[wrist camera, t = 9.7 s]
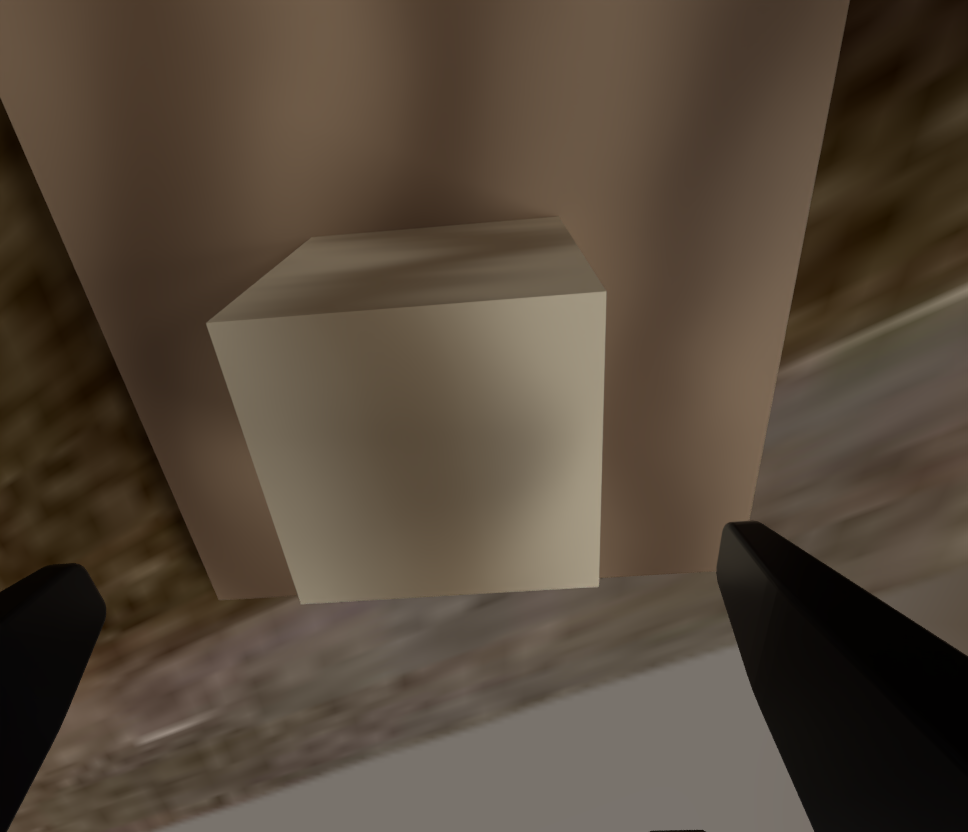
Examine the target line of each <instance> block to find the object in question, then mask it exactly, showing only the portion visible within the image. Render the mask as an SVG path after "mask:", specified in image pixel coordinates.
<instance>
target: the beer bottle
mask: <svg viewBox="0 0 968 832" xmlns="http://www.w3.org/2000/svg"><path fill="white" fill-rule="evenodd" d="M650 832H705V831H704V830H670V831H650Z"/></svg>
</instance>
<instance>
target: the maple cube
mask: <svg viewBox="0 0 968 832" xmlns="http://www.w3.org/2000/svg"><path fill="white" fill-rule="evenodd" d="M206 325H207V328H208V331H209V334H210V337H211V340H212V343H213V346H214V349H215V352H216V355H217V358H218V361H219V363H220V366H221V369H222V372H223V375H224V378H225V381H226V384H227V387H228V390H229V393H230V396H231V399H232V402H233V405H234V408H235V411H236V414H237V417H238V420H239V422H240V425H241V428H242V431H243V434H244V437H245V440H246V443H247V446H248V449H249V452H250V455H251V458H252V461H253V464H254V467H255V470H256V473H257V476H258V479H259V482H260V484H261V487H262V490H263V493H264V496H265V499H266V502H267V505H268V508H269V511H270V514H271V517H272V520H273V523H274V526H275V529H276V532H277V535H278V538H279V541H280V543H281V546H282V549H283V552H284V555H285V558H286V561H287V564H288V567H289V570H290V573H291V576H292V579H293V582H294V585H295V588H296V591H297V594H298V597H299V600H300V602H301V604H315V603H331V602H348V601H365V600H382V599H399V598H416V597H433V596H450V595H467V594H484V593H501V592H518V591H535V590H551V589H568V588H585V587H599V561H600V523H601V484H602V445H603V407H604V368H605V329H606V290H605V288H604V287H603V285H602V284H601V282H600V280H599V279H598V277H597V276H596V274H595V273H594V271H593V269H592V268H591V266H590V265H589V263H588V262H587V260H586V258H585V257H584V255H583V254H582V252H581V251H580V249H579V247H578V246H577V244H576V243H575V241H574V240H573V238H572V236H571V235H570V233H569V232H568V230H567V229H566V227H565V225H564V224H563V222H562V221H561V219H560V218H559V216H558V217H546V218H534V219H522V220H511V221H499V222H487V223H475V224H463V225H451V226H440V227H428V228H416V229H404V230H392V231H380V232H369V233H357V234H345V235H333V236H321V237H311V238H310V239H309V240H308V241H306V242H305V243H304V244H303V245H301V246H300V247H299V248H298V249H296V250H295V251H294V252H293V253H291V254H290V255H289V256H288V257H287V258H285V259H284V260H283V261H282V262H280V263H279V264H278V265H277V266H275V267H274V268H273V269H272V270H271V271H269V272H268V273H267V274H266V275H264V276H263V277H262V278H261V279H259V280H258V281H257V282H256V283H255V284H253V285H252V286H251V287H250V288H248V289H247V290H246V291H245V292H243V293H242V294H241V295H240V296H239V297H237V298H236V299H235V300H234V301H232V302H231V303H230V304H229V305H227V306H226V307H225V308H224V309H222V310H221V311H220V312H219V313H218V314H216V315H215V316H214V317H213V318H211V319H210V320H209V321H208V322H206Z"/></svg>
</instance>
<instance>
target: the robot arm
mask: <svg viewBox="0 0 968 832" xmlns="http://www.w3.org/2000/svg"><path fill="white" fill-rule="evenodd" d="M716 574H717V580H718V585H719V588H720V591H721V594H722V597H723V600H724V604H725V607H726V610H727V613H728V616H729V619H730V622H731V626H732V629H733V632H734V635H735V638H736V641H737V644H738V648H739V651H740V653H741V657H742V660H743V663H744V666H745V670H746V672H747V676H748V678H749V681H750V684H751V687H752V690H753V693H754V695H755V697H756V700H757V702H758V705H759V707H760V710H761V712H762V714H763V716H764V718H765V721H766V723H767V725H768V728H769V730H770V732H771V734H772V736H773V739H774V741H775V743H776V745H777V748H778V750H779V753H780V754H781V757H782V759H783V762H784V764H785V766H786V768H787V771H788V773H789V775H790V777H791V779H792V782H793V784H794V787H795V789H796V791H797V793H798V796H799V798H800V800H801V802H802V805H803V807H804V809H805V811H806V814H807V816H808V818H809V820H810V823H811V825H812V827H813V830H814V832H968V656H967V655H965V654H963V653H962V652H961V651H959V650H957V649H956V648H954V647H953V646H951V645H950V644H948V643H947V642H945V641H943V640H942V639H940V638H939V637H937V636H936V635H934V634H933V633H931V632H930V631H928V630H926V629H925V628H923V627H922V626H920V625H918V624H917V623H915V622H914V621H912V620H911V619H909V618H908V617H906V616H905V615H903V614H902V613H900V612H899V611H897V610H895V609H894V608H892V607H891V606H889V605H888V604H886V603H885V602H883V601H881V600H880V599H878V598H877V597H875V596H874V595H872V594H871V593H869V592H867V591H866V590H864V589H863V588H861V587H860V586H858V585H857V584H855V583H854V582H852V581H850V580H849V579H847V578H846V577H844V576H843V575H841V574H840V573H838V572H836V571H835V570H833V569H832V568H830V567H829V566H827V565H826V564H824V563H823V562H821V561H819V560H818V559H816V558H815V557H813V556H812V555H810V554H809V553H807V552H805V551H804V550H802V549H801V548H799V547H798V546H796V545H795V544H793V543H792V542H790V541H788V540H787V539H785V538H784V537H782V536H781V535H779V534H778V533H776V532H774V531H773V530H771V529H770V528H768V527H767V526H765V525H764V524H762V523H760V522H758V521H752V520H751V521H735V522H729V523H727V524H725V526H724V528H723V531H722V536H721V542H720V548H719V554H718V560H717V566H716ZM105 618H106V605H105V602H104V600H103V598H102V596H101V595H100V593H99V591H98V589H97V588H96V586H95V584H94V582H93V581H92V579H91V577H90V575H89V574H88V572H87V570H86V569H85V568H84V567H83V566H81V565H80V564H76V563H69V564H53V565H48V566H45V567H43V568H41V569H39V570H38V571H36V572H34V573H32V574H31V575H29V576H27V577H25V578H24V579H22V580H20V581H18V582H17V583H15V584H13V585H12V586H10V587H8V588H6V589H5V590H3V591H1V592H0V832H7V831H8V829H9V827H10V825H11V823H12V821H13V819H14V817H15V815H16V813H17V811H18V809H19V807H20V806H21V804H22V802H23V800H24V798H25V796H26V794H27V792H28V790H29V788H30V786H31V784H32V782H33V780H34V779H35V777H36V775H37V773H38V771H39V769H40V767H41V765H42V763H43V761H44V759H45V757H46V755H47V754H48V752H49V750H50V748H51V746H52V744H53V742H54V740H55V738H56V736H57V734H58V732H59V730H60V728H61V725H62V723H63V721H64V718H65V716H66V714H67V712H68V709H69V707H70V704H71V702H72V700H73V697H74V695H75V692H76V690H77V687H78V685H79V683H80V680H81V678H82V675H83V673H84V670H85V668H86V665H87V663H88V661H89V658H90V656H91V653H92V651H93V648H94V646H95V644H96V641H97V639H98V636H99V634H100V631H101V629H102V627H103V624H104V621H105Z"/></svg>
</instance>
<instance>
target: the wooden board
mask: <svg viewBox="0 0 968 832" xmlns="http://www.w3.org/2000/svg"><path fill="white" fill-rule="evenodd" d="M849 2H850V0H0V98H1V100H2V102H3V105H4V107H5V109H6V112H7V114H8V116H9V119H10V121H11V123H12V125H13V128H14V130H15V132H16V135H17V137H18V139H19V142H20V144H21V146H22V148H23V151H24V153H25V155H26V158H27V160H28V162H29V165H30V167H31V169H32V171H33V174H34V176H35V178H36V181H37V183H38V185H39V188H40V190H41V192H42V194H43V197H44V199H45V201H46V204H47V206H48V208H49V211H50V213H51V215H52V217H53V220H54V222H55V224H56V227H57V229H58V231H59V234H60V236H61V238H62V240H63V243H64V245H65V247H66V250H67V252H68V254H69V257H70V259H71V261H72V263H73V266H74V268H75V270H76V273H77V275H78V277H79V279H80V282H81V284H82V286H83V289H84V291H85V293H86V296H87V298H88V300H89V302H90V305H91V307H92V309H93V312H94V314H95V316H96V319H97V321H98V323H99V325H100V328H101V330H102V332H103V335H104V337H105V339H106V342H107V344H108V346H109V348H110V351H111V353H112V355H113V358H114V360H115V362H116V365H117V367H118V369H119V371H120V374H121V376H122V378H123V381H124V383H125V385H126V388H127V390H128V392H129V394H130V397H131V399H132V401H133V404H134V406H135V408H136V411H137V413H138V415H139V417H140V420H141V422H142V424H143V427H144V429H145V431H146V434H147V436H148V438H149V440H150V443H151V445H152V447H153V450H154V452H155V454H156V457H157V459H158V461H159V463H160V466H161V468H162V470H163V473H164V475H165V477H166V479H167V482H168V484H169V486H170V489H171V491H172V493H173V496H174V498H175V500H176V502H177V505H178V507H179V509H180V512H181V514H182V516H183V519H184V521H185V523H186V525H187V528H188V530H189V532H190V535H191V537H192V539H193V542H194V544H195V546H196V548H197V551H198V553H199V555H200V558H201V560H202V562H203V565H204V567H205V569H206V571H207V574H208V576H209V578H210V581H211V583H212V585H213V588H214V590H215V592H216V594H217V597H218V599H219V600H232V599H249V598H266V597H283V596H298V594H297V591H296V588H295V585H294V582H293V579H292V576H291V573H290V570H289V567H288V564H287V561H286V558H285V555H284V552H283V549H282V546H281V543H280V541H279V538H278V535H277V532H276V529H275V526H274V523H273V520H272V517H271V514H270V511H269V508H268V505H267V502H266V499H265V496H264V493H263V490H262V487H261V484H260V482H259V479H258V476H257V473H256V470H255V467H254V464H253V461H252V458H251V455H250V452H249V449H248V446H247V443H246V440H245V437H244V434H243V431H242V428H241V425H240V422H239V420H238V417H237V414H236V411H235V408H234V405H233V402H232V399H231V396H230V393H229V390H228V387H227V384H226V381H225V378H224V375H223V372H222V369H221V366H220V363H219V361H218V358H217V355H216V352H215V349H214V346H213V343H212V340H211V337H210V334H209V331H208V328H207V325H206V322H208V321H209V320H210V319H211V318H213V317H214V316H215V315H216V314H218V313H219V312H220V311H221V310H222V309H224V308H225V307H226V306H227V305H229V304H230V303H231V302H232V301H234V300H235V299H236V298H237V297H239V296H240V295H241V294H242V293H243V292H245V291H246V290H247V289H248V288H250V287H251V286H252V285H253V284H255V283H256V282H257V281H258V280H259V279H261V278H262V277H263V276H264V275H266V274H267V273H268V272H269V271H271V270H272V269H273V268H274V267H275V266H277V265H278V264H279V263H280V262H282V261H283V260H284V259H285V258H287V257H288V256H289V255H290V254H291V253H293V252H294V251H295V250H296V249H298V248H299V247H300V246H301V245H303V244H304V243H305V242H306V241H308V240H309V239H310V238H311V237H321V236H333V235H345V234H357V233H369V232H380V231H392V230H404V229H416V228H428V227H440V226H451V225H463V224H475V223H487V222H499V221H511V220H522V219H534V218H546V217H558V216H559V218H560V219H561V221H562V222H563V224H564V225H565V227H566V229H567V230H568V232H569V233H570V235H571V236H572V238H573V240H574V241H575V243H576V244H577V246H578V247H579V249H580V251H581V252H582V254H583V255H584V257H585V258H586V260H587V262H588V263H589V265H590V266H591V268H592V269H593V271H594V273H595V274H596V276H597V277H598V279H599V280H600V282H601V284H602V285H603V287H604V288H605V290H606V329H605V368H604V407H603V445H602V484H601V523H600V561H599V578H608V577H626V576H643V575H660V574H677V573H694V572H711V571H716V566H717V560H718V554H719V548H720V542H721V536H722V531H723V528H724V526H725V524H727V523H729V522H735V521H749V519H750V514H751V509H752V504H753V498H754V493H755V488H756V483H757V478H758V473H759V467H760V462H761V457H762V452H763V447H764V441H765V436H766V431H767V426H768V421H769V416H770V410H771V405H772V400H773V395H774V390H775V385H776V379H777V374H778V369H779V364H780V359H781V354H782V348H783V343H784V338H785V333H786V328H787V323H788V317H789V312H790V307H791V302H792V297H793V292H794V286H795V281H796V276H797V271H798V266H799V261H800V255H801V250H802V245H803V240H804V235H805V230H806V224H807V219H808V214H809V209H810V204H811V199H812V193H813V188H814V183H815V178H816V173H817V168H818V162H819V157H820V152H821V147H822V142H823V137H824V131H825V126H826V121H827V116H828V111H829V106H830V100H831V95H832V90H833V85H834V80H835V74H836V69H837V64H838V59H839V54H840V49H841V43H842V38H843V33H844V28H845V23H846V18H847V12H848V7H849Z"/></svg>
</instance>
